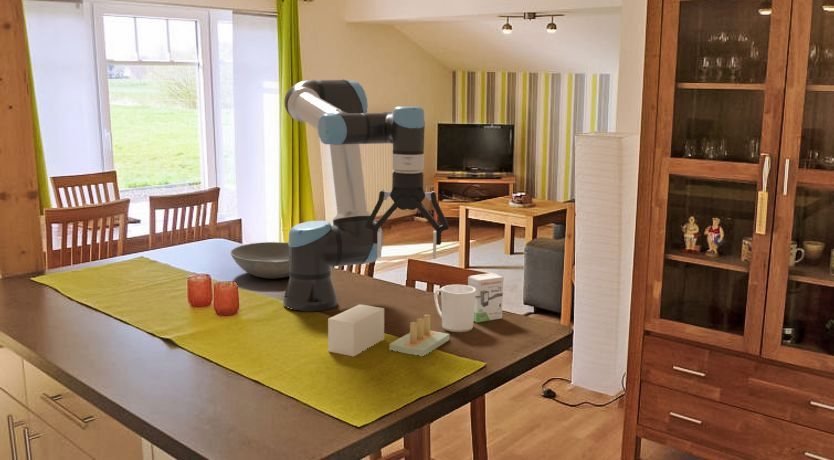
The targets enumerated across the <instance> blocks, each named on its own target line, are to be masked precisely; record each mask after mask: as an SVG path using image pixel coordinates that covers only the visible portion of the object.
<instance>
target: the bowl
mask: <svg viewBox="0 0 834 460" xmlns="http://www.w3.org/2000/svg"><path fill="white" fill-rule="evenodd" d="M230 255H231V257H232V259H233V260H234V262H235V263H236V265H237V266H238V267H239V268H241V269H242V270H243V271H245V272H246V273H248V274H250V275H252V276H254V277H256V278H263V279H273V280H274V279H281V278H283V279H284V278H288V277H289V246H288V242H280V241H269V242H268V241H267V242H266V241H265V242H255V243H248V244H244V245H243V244H242V245H239V246H236V247H234V248H233V249H231V250H230Z"/></svg>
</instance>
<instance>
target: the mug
mask: <svg viewBox="0 0 834 460" xmlns="http://www.w3.org/2000/svg"><path fill="white" fill-rule="evenodd" d="M439 293H440V297H441V299H440V300H441V309H440V305H439V301H438V294H439ZM475 295H476V289H475V288H474V287H471V286H468V284H447V285H444V286H441V288H437V289H436V290H435V291H434V294H433V300H434V305H435V309H436V311H437V314H438V316H439V317H440V318H441V327H442V329H443V330H444V331H449V332H453V333H465V332H469V331H471V330H472V329H473V328H474V322H475V321H474V308H475Z"/></svg>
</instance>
